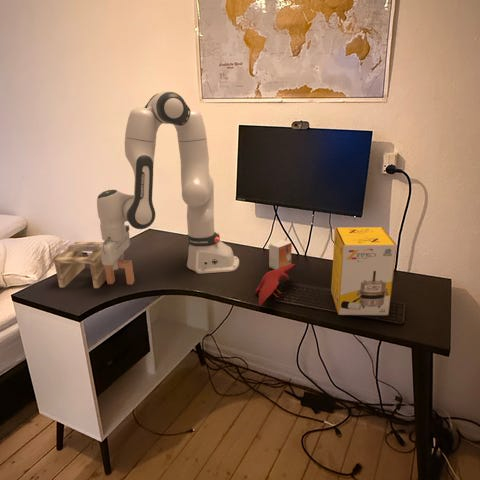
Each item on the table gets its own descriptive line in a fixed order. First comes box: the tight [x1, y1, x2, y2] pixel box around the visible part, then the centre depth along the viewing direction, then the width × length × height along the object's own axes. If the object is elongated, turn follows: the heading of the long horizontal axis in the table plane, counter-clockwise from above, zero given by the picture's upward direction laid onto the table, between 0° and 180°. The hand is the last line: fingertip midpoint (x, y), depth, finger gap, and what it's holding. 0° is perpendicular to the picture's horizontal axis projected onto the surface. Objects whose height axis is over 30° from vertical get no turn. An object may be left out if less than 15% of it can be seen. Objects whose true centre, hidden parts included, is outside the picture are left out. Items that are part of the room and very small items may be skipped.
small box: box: [268, 239, 293, 270], centre depth 169 cm, size 8×6×10 cm
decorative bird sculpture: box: [255, 263, 296, 307], centre depth 146 cm, size 28×9×15 cm
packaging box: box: [330, 226, 398, 316], centre depth 137 cm, size 16×16×25 cm
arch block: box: [104, 259, 135, 285], centre depth 159 cm, size 10×3×9 cm, turn 85°
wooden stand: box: [53, 241, 115, 289], centre depth 164 cm, size 16×18×14 cm
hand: (118, 266), depth 158 cm, fingers closed on arch block, 3 cm apart
